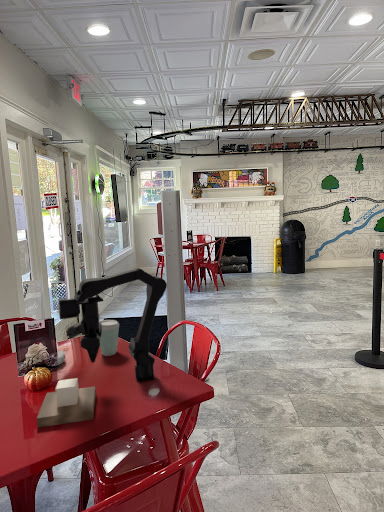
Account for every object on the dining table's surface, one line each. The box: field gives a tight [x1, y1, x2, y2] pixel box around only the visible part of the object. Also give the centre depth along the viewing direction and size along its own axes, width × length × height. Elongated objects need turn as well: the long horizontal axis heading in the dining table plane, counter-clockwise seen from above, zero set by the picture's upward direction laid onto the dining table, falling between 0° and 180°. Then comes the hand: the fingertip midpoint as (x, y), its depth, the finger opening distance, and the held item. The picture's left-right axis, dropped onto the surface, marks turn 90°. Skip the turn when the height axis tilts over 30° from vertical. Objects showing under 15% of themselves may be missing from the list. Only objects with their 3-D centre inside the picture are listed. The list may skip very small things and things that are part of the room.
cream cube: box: [55, 377, 79, 407], centre depth 116 cm, size 6×6×6 cm
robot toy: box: [57, 349, 66, 366], centre depth 153 cm, size 12×4×15 cm
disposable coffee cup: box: [99, 319, 120, 357], centre depth 163 cm, size 11×11×15 cm
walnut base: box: [36, 386, 97, 428], centre depth 116 cm, size 16×16×3 cm
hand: (93, 357), depth 128 cm, fingers open, 9 cm apart
